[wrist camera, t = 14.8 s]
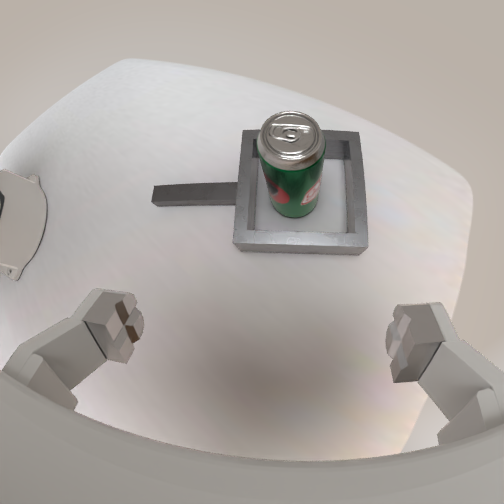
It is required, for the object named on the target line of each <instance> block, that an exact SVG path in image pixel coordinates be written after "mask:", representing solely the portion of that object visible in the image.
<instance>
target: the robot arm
mask: <svg viewBox="0 0 504 504" xmlns="http://www.w3.org/2000/svg"><path fill="white" fill-rule="evenodd" d="M46 212H47V205H46V198H45V195H44V192H43V191H42V189H41V188H40V185H39V177H38V176H37V175H35V174H33V175H31V176H29V177H28V178H24V177H22V176H20V175H17V174H15V173H13V172H11V171H8V170H6V169H3V170H2V171H0V271H1V272H2V273H3V274H5V275H6V276H7V277H9V278H10V279H12V280H15V281H17V280H18V278H19V277H20V274H21V272H22V270H23V268H24V266H25V265H26V264H27V263H28V262H29V261H30V260H31V258H32V257H33V255H34V253H35V252H36V250H37V248H38V245H39V243H40V240H41V237H42V234H43V231H44V226H45V221H46ZM136 304H137V300H136V298H135V296H134V294H132V293H128V292H121V291H114V290H105V289H99V288H96V289H93V290H92V291H91V292H90V294H89V295H88V296H87V297H86V299H85V300H84V301H83V302H82V304H81V305H80V306H79V307H78V309H77V310H76V311H75V313H74V314H73V315H72V317H71V318H66V319H64V320H62V321H60V322H59V323H57V324H55V325H53V326H52V327H50V328H48V329H46V330H45V331H43V332H41V333H39V334H38V335H36V336H34V337H32V338H31V339H29V340H27V341H26V342H24V343H22V344H20V345H19V346H18V348H17V349H16V350H15V352H14V353H13V355H12V356H11V357H10V359H9V360H8V362H7V363H6V365H5V366H4V368H3V369H2V371H1V370H0V504H504V373H503V372H502V371H501V370H500V369H499V368H498V367H496V366H495V365H494V364H493V363H491V361H489V360H488V359H487V358H486V357H484V356H483V355H482V354H481V353H480V352H478V351H477V350H476V349H475V348H473V347H472V346H471V345H470V344H468V343H467V342H466V341H465V340H460V339H459V337H458V335H457V332H456V330H455V328H454V326H453V324H452V322H451V320H450V318H449V316H448V314H447V312H446V310H445V308H444V306H443V304H442V303H440V302H436V303H426V304H425V303H422V304H398V305H397V306H396V307H395V309H394V312H393V317H394V321H393V322H392V323H391V324H389V326H388V329H387V332H386V350H387V354H388V355H389V356H390V357H391V358H392V359H393V360H392V362H391V364H390V368H391V373H392V378H393V382H394V383H401V382H413V381H418V383H419V385H420V386H421V387H422V388H423V389H424V391H425V392H426V393H427V394H428V395H429V397H430V398H431V399H432V400H433V401H434V403H435V404H436V405H437V406H438V408H439V409H440V410H441V411H442V412H443V414H444V415H445V416H446V418H447V419H448V420H449V421H450V422H449V423H448V424H446V425H445V426H444V427H443V428H442V429H441V430H440V431H439V433H438V434H437V436H438V442H439V445H438V446H435V447H430V448H426V449H421V450H417V451H411V452H406V453H400V454H394V455H387V456H380V457H372V458H362V459H351V460H334V461H284V460H267V459H255V458H245V457H237V456H229V455H222V454H216V453H210V452H205V451H199V450H194V449H189V448H185V447H180V446H176V445H172V444H168V443H164V442H160V441H156V440H153V439H149V438H146V437H142V436H139V435H136V434H133V433H130V432H127V431H124V430H121V429H118V428H115V427H112V426H110V425H107V424H104V423H102V422H99V421H97V420H94V419H92V418H89V417H87V416H85V415H82V414H80V413H78V412H75V411H74V409H75V407H76V405H77V403H78V401H77V398H76V397H75V396H74V395H73V394H72V393H71V391H70V390H71V389H73V388H74V387H75V386H76V385H78V384H79V383H80V382H81V381H82V380H84V379H85V378H86V377H87V376H89V375H90V374H91V373H92V372H93V371H95V370H96V369H97V368H98V367H100V366H101V365H102V364H103V363H105V362H106V361H107V360H112V361H116V362H121V363H125V364H127V362H128V360H129V358H130V357H131V355H132V353H133V351H134V345H133V343H134V342H136V341H138V340H139V339H140V337H141V335H142V333H143V328H144V319H143V316H142V313H141V312H140V311H139V310H138V309H137V308H136ZM106 359H107V360H106Z"/></svg>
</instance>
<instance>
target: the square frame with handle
mask: <svg viewBox="0 0 504 504" xmlns="http://www.w3.org/2000/svg"><path fill="white" fill-rule="evenodd" d="M260 131H261V130H243V133H242V144H241V154H240V165H239V175H238V182H225V183H196V184H176V185H160V186H154V190H153V195H152V201H151V202H152V203H154V204H155V205H156V206H191V205H236V209H235V221H234V234H233V244H234V245H235V246H236V247H237V248H238V249H239V250H240V251H246V252H276V253H306V254H336V255H360V254H361V253H362V252H363V251H364V250H366V249H367V248H368V225H367V206H366V192H365V180H364V169H363V160H362V152H361V144H360V136H359V132H350V131H334V130H321V131H322V132H323V134H324V136H325V140H326V149H325V156H324V158H327V159H344V166H345V180H346V199H347V228H348V233H329V232H298V231H260V230H254V223H255V207H256V191H257V176H258V160H259V154H258V150H257V138H258V135H259V133H260Z"/></svg>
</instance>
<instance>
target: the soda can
mask: <svg viewBox="0 0 504 504" xmlns="http://www.w3.org/2000/svg"><path fill="white" fill-rule="evenodd" d="M325 149H326V140H325V136H324V134H323V132H322V131H321V129H320V127H319V125H318V124H317V122H316V121H315V120H314V119H313V118H311V117H310V116H308V115H306V114H304V113H301V112H296V111H284V112H280V113H277V114H275V115H273V116H271V117H270V118H269V119H267V120H266V121H265V123H264V124H263V126H262V128H261V131H260V133H259V135H258V138H257V150H258V154H259V158H260V161H261V165H262V169H263V172H264V176H265V180H266V184H267V187H268V191H269V195H270V199H271V202H272V204H273V206H274V208H275V209H276V210H277V211H278V212H279V213H281V214H282V215H284V216H287V217H301V216H304V215H306V214H308V213H310V212H311V211H312V210H313V209H314V207H315V206H316V203H317V201H318V195H319V189H320V182H321V176H322V169H323V163H324V156H325Z"/></svg>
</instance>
